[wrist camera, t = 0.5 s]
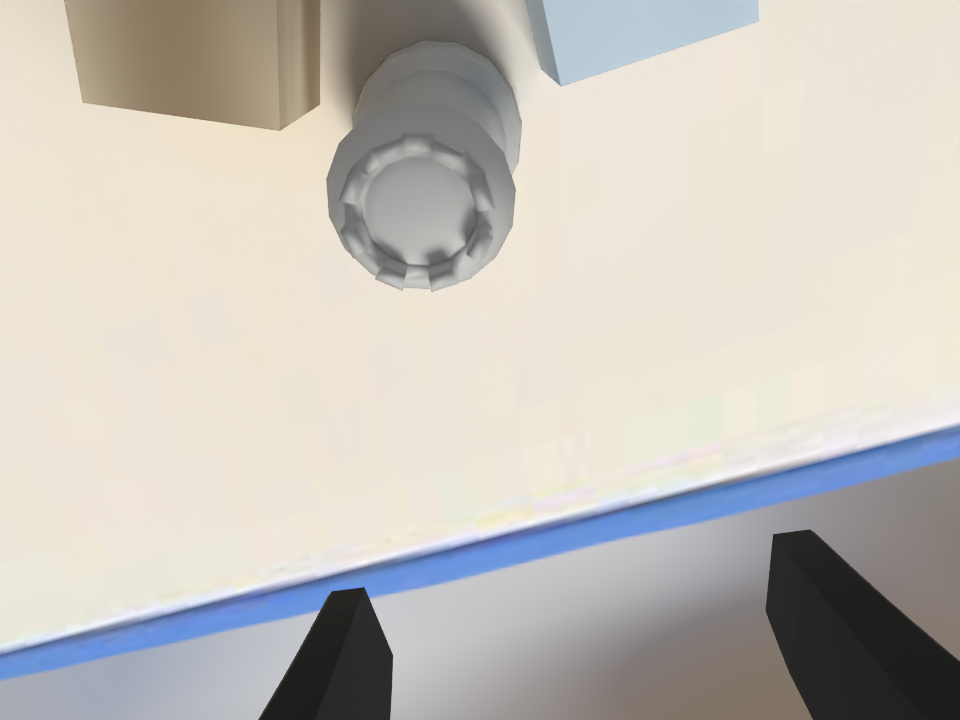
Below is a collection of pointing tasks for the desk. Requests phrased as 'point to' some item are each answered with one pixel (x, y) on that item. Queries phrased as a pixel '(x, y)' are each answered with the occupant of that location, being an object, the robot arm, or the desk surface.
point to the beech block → (200, 57)
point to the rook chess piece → (427, 167)
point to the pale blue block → (624, 31)
